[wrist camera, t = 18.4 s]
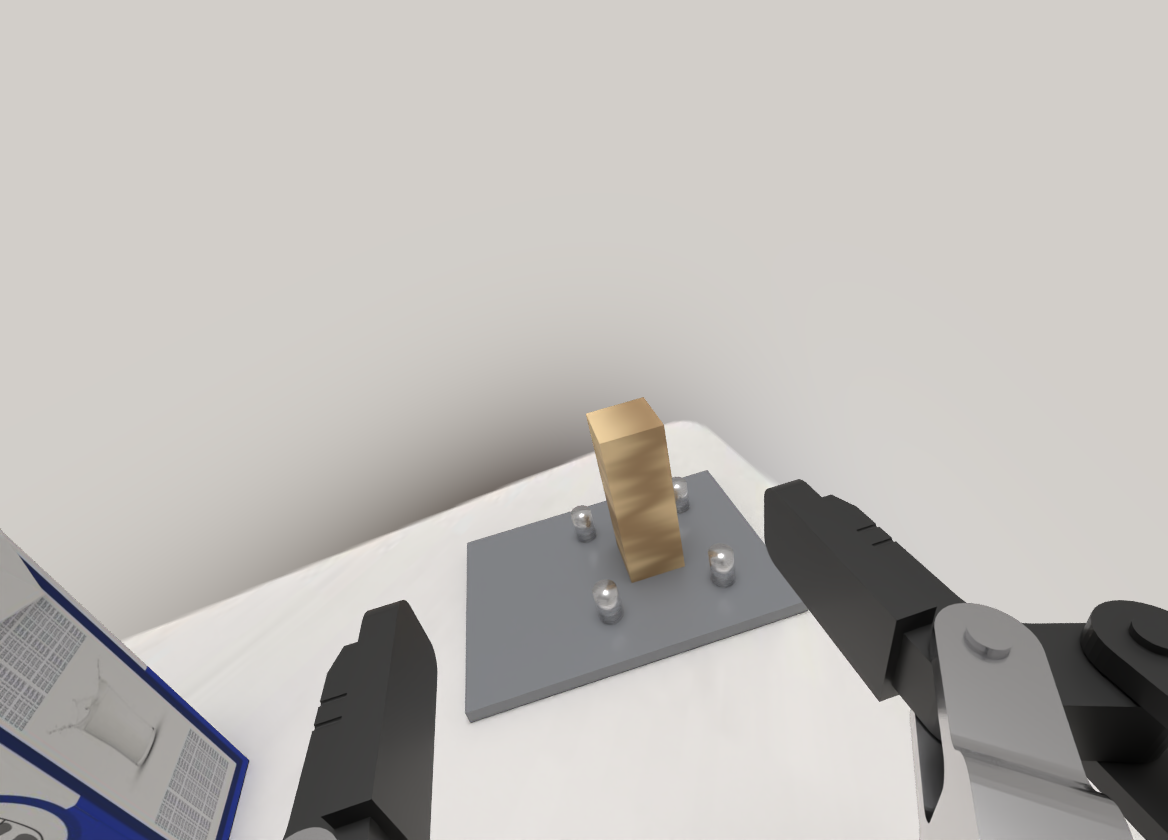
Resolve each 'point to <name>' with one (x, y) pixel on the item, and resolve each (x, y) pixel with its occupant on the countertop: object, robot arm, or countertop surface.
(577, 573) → the plate
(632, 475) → the oak block
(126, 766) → the milk carton
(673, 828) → the countertop surface
